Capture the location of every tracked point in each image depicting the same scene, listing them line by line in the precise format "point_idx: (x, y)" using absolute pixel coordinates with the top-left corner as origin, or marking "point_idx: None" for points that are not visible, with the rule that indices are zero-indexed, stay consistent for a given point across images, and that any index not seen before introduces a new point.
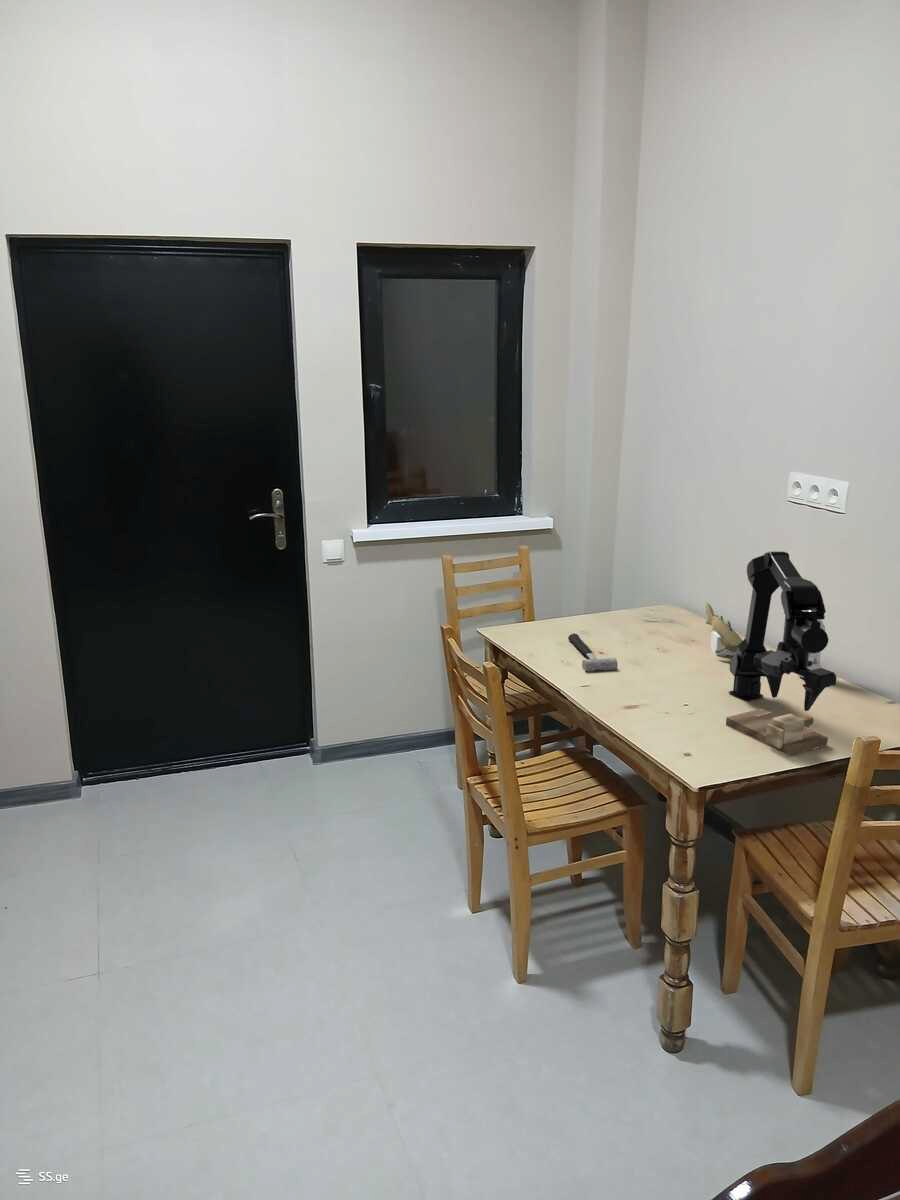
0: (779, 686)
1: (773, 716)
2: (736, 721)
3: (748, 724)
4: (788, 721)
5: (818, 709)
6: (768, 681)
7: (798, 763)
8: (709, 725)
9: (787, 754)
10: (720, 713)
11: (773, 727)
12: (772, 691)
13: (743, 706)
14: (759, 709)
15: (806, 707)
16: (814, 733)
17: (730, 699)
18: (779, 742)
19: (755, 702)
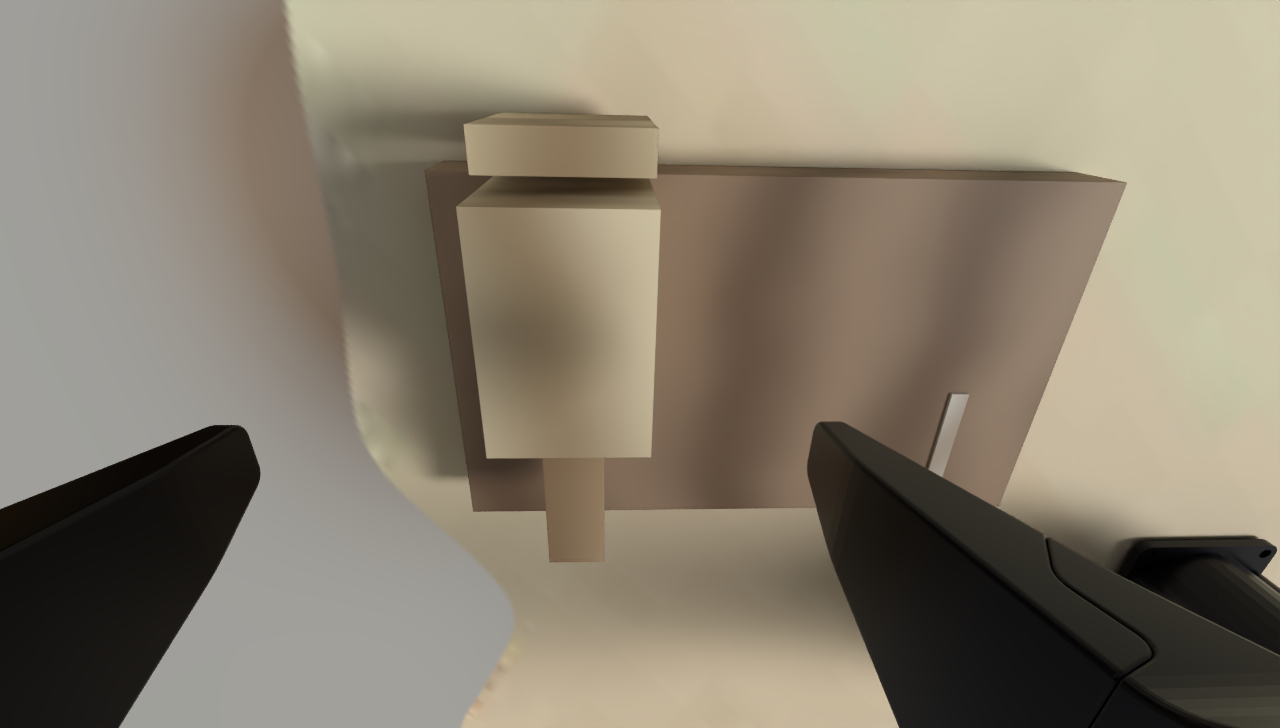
0: (862, 627)
1: None
2: (1021, 189)
3: (919, 230)
4: (512, 298)
5: (814, 712)
6: (1086, 567)
7: (319, 111)
8: (1177, 39)
9: None
10: (1194, 294)
11: (570, 128)
12: (872, 462)
13: (1115, 485)
14: (1001, 484)
15: (150, 453)
16: None
17: (1223, 495)
18: (492, 115)
19: None
